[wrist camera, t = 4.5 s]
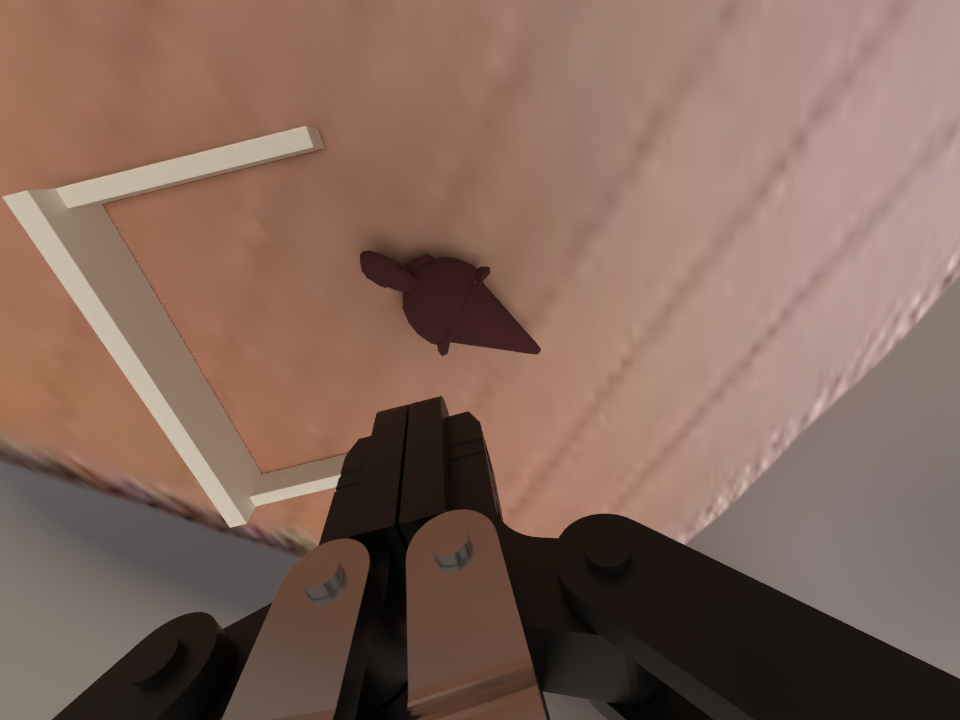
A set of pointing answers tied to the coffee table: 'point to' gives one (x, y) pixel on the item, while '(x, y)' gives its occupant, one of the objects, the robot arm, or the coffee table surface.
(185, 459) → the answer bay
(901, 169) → the coffee table surface
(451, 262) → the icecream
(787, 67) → the coffee table surface
